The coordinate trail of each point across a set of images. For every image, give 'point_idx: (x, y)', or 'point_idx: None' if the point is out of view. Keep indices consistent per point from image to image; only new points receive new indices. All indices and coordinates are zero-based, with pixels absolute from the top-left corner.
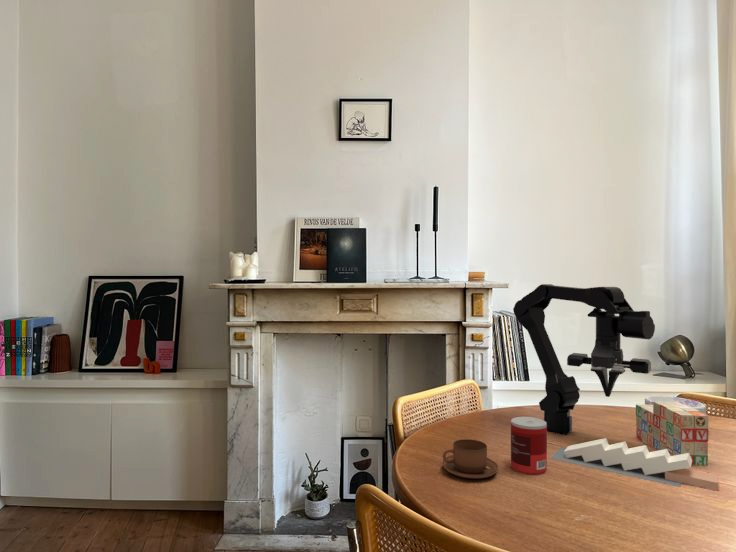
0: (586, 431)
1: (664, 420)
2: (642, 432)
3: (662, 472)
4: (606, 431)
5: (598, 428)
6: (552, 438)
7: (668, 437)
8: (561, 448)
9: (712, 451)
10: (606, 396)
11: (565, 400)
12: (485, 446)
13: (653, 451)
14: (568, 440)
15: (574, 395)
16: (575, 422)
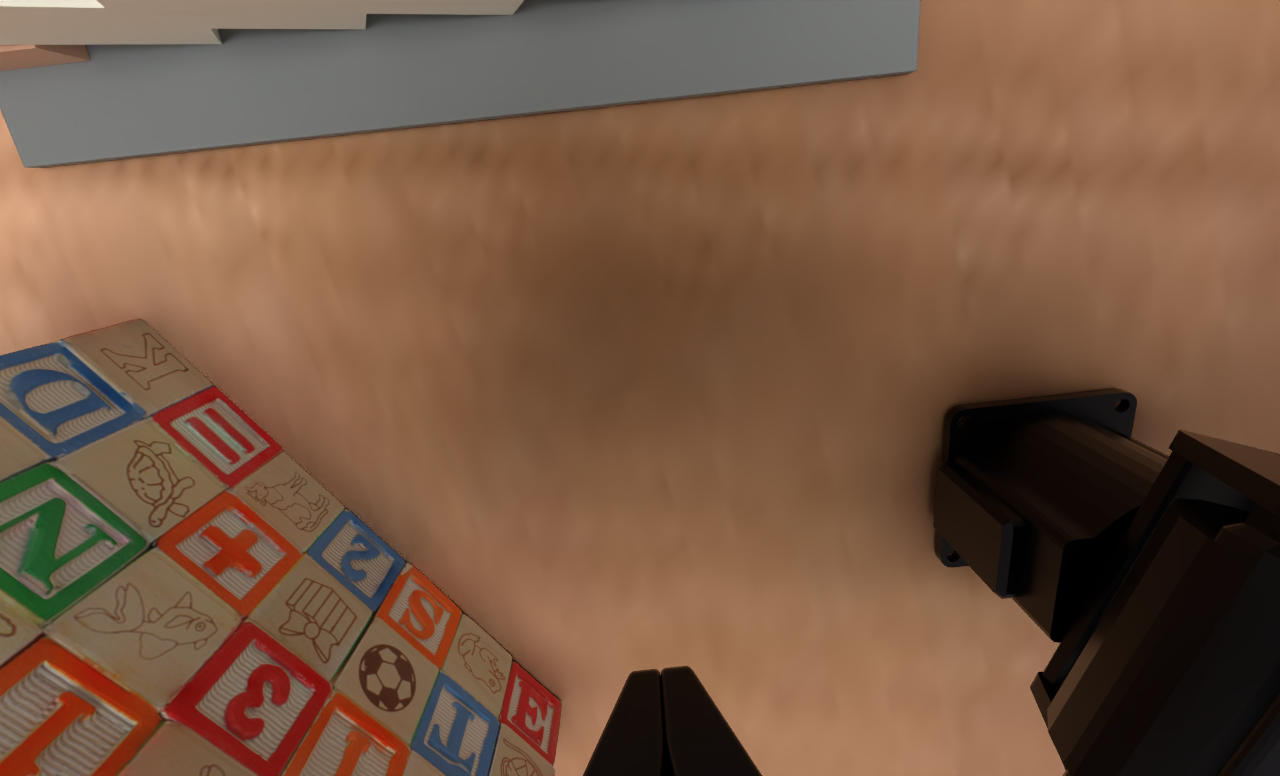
0: (849, 623)
1: (98, 647)
2: (493, 699)
3: None
4: (743, 702)
5: (800, 725)
6: (1025, 308)
7: (146, 502)
8: (908, 24)
9: None
10: (676, 668)
11: (1221, 532)
12: None
13: (53, 4)
14: (910, 347)
15: (1149, 738)
16: (953, 747)
